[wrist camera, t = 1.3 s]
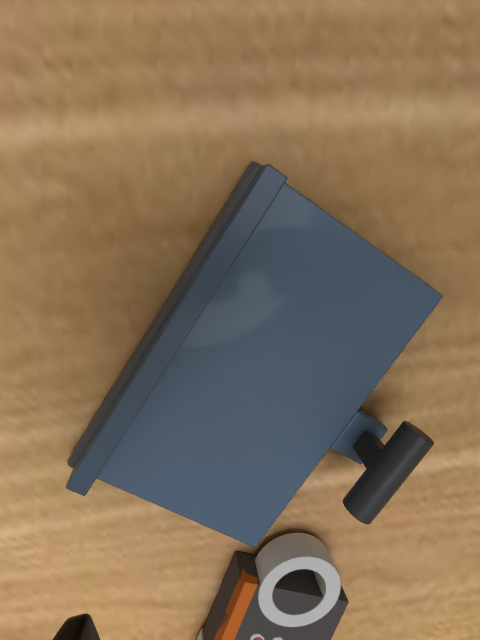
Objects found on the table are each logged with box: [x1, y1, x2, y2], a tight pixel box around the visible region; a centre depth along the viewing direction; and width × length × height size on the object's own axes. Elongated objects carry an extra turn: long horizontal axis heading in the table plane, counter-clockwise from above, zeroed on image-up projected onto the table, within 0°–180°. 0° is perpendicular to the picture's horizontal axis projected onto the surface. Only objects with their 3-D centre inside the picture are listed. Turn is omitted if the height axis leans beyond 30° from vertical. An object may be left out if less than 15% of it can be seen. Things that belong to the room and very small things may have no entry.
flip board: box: [66, 161, 443, 547], centre depth 20 cm, size 14×17×4 cm
